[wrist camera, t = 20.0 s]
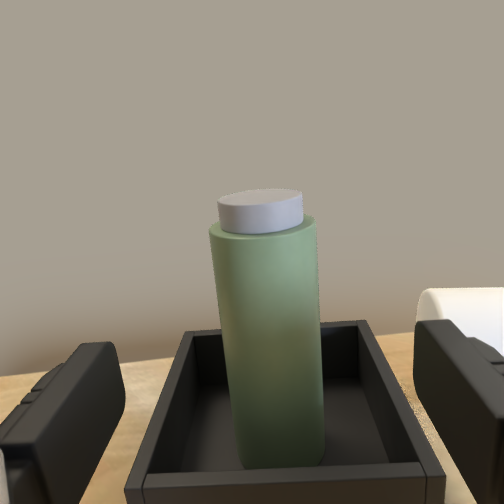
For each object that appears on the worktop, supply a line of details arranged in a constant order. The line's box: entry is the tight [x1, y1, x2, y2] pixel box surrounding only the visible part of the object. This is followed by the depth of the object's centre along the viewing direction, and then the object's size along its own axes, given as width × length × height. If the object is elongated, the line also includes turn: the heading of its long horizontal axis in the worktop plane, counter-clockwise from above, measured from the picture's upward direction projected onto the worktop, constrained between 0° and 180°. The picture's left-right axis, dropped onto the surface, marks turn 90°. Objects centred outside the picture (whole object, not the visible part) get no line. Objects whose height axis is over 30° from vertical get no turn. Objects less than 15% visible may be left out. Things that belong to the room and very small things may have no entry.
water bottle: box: [209, 189, 325, 469], centre depth 22 cm, size 5×5×15 cm
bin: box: [124, 320, 446, 504], centre depth 24 cm, size 14×14×5 cm
